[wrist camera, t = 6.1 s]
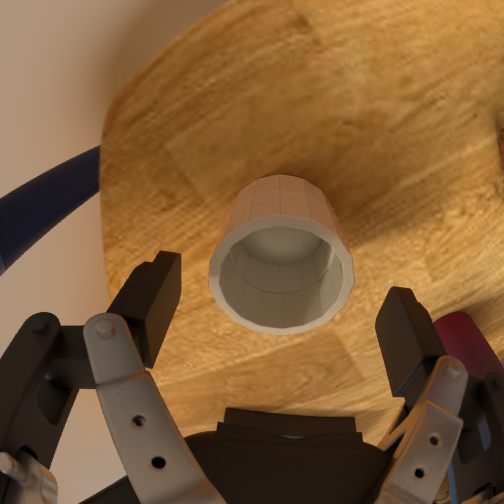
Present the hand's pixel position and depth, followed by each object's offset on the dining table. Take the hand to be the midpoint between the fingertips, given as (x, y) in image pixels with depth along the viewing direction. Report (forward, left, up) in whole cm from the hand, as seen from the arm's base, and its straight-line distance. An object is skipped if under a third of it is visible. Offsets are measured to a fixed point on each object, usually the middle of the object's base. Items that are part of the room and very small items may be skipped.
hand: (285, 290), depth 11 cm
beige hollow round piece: (0, 0, -6) cm, 6 cm away
